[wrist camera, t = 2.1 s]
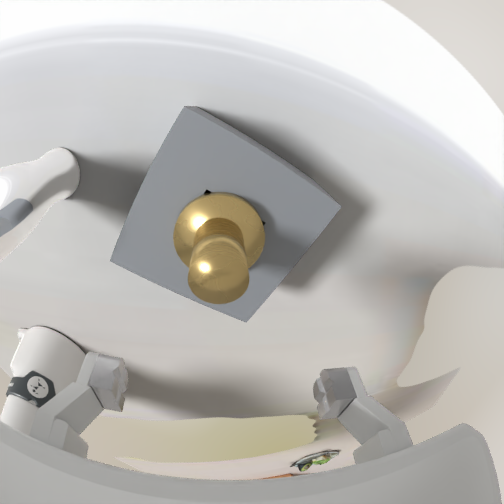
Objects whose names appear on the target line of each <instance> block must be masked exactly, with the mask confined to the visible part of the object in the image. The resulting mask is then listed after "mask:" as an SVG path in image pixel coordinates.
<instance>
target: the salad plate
mask: <svg viewBox="0 0 504 504" xmlns="http://www.w3.org/2000/svg"><path fill="white" fill-rule="evenodd" d="M328 453H331V455H329V456H325V454H328ZM338 454H339V452H338V451H334V450H333V451H325V452H319V453H316V454H312V455H309V456H305V457H303V458H301V459H300V460H298V461H296V462H295V463H294V464H292V465H291V466H290V467H292V466H295V467H298V468H299V470H300V471H305V470H307V469H308V468H309V467H310V466H311V465H317V464H320V465H321V464H324V463H326V462H328V461H329V460H330V459H332V458H333V457H335V456H337V455H338Z"/></svg>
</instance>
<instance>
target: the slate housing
mask: <svg viewBox="0 0 504 504" xmlns="http://www.w3.org/2000/svg"><path fill="white" fill-rule="evenodd" d="M206 189H207V190H209V191H211V192H228V193H232V194H235V195H238V196H240V197H242V198H244V199H245V200H247V201H248V202H249V203H250V204H252V205H253V207H254V208H255V209H256V210H257V212H258V213H259V215H260V218H261V220H262V223H263V227H264V231H265V243H264V248H263V251H262V253H261V255H260V257H259V258H258V260H257V261H256V262H255V263H254V264H253V265H252V266H251V267H250V268H248V271H249V286H248V288H247V290H246V292H245V293H244V294H243V295H242V296H241V297H240V298H238V299H237V300H235V301H233V302H230V303H226V304H212V303H208V302H205V301H203V300H201V299H199V298H198V297H197V296H195V295H194V294H193V292H192V291H191V289H190V287H189V285H188V272H189V268H188V267H187V266H186V265H185V264H184V263H183V262H182V261H181V259H180V258H179V256H178V254H177V252H176V250H175V247H174V241H173V233H174V228H175V224H176V221H177V219H178V216H179V214H180V213H181V211H182V210H183V208H184V207H185V206H186V205H187V204H188V203H189V202H190V201H192V200H193V199H195V198H196V197H198V196H200V195H203V194H204V192H205V191H206ZM341 207H342V206H341V205H340V204H339V203H338V202H336V201H335V200H334V199H333V198H332V197H331V196H330V195H329V194H328V193H327V192H326V191H325V190H324V189H323V188H322V187H321V186H320V185H318V184H317V183H316V182H315V181H314V180H313V179H312V178H310V177H309V176H307V175H306V174H305V173H303V172H302V171H300V170H299V169H297V168H296V167H295V166H293V165H292V164H290V163H289V162H287V161H286V160H284V159H283V158H281V157H280V156H278V155H277V154H275V153H274V152H272V151H271V150H269V149H268V148H266V147H264V146H263V145H261V144H260V143H258V142H256V141H255V140H253V139H252V138H250V137H248V136H247V135H245V134H244V133H242V132H240V131H239V130H237V129H235V128H234V127H232V126H230V125H228V124H227V123H225V122H223V121H222V120H220V119H218V118H216V117H214V116H213V115H211V114H209V113H207V112H205V111H204V110H202V109H200V108H198V107H196V106H184V108H183V109H182V111H181V113H180V114H179V116H178V118H177V119H176V121H175V123H174V124H173V126H172V128H171V129H170V131H169V133H168V135H167V137H166V138H165V140H164V142H163V144H162V146H161V147H160V149H159V151H158V153H157V155H156V157H155V159H154V161H153V163H152V165H151V167H150V168H149V170H148V172H147V175H146V177H145V179H144V181H143V183H142V185H141V187H140V189H139V191H138V193H137V196H136V198H135V200H134V202H133V204H132V207H131V209H130V211H129V214H128V216H127V218H126V221H125V223H124V225H123V228H122V230H121V233H120V235H119V238H118V240H117V243H116V246H115V248H114V251H113V254H112V256H111V259H110V261H111V262H113V263H115V264H117V265H119V266H121V267H123V268H125V269H127V270H129V271H131V272H133V273H135V274H137V275H139V276H141V277H143V278H145V279H147V280H149V281H151V282H154V283H156V284H158V285H160V286H162V287H164V288H166V289H169V290H171V291H173V292H175V293H177V294H180V295H182V296H184V297H186V298H189V299H191V300H193V301H196V302H198V303H200V304H202V305H205V306H207V307H210V308H212V309H214V310H217V311H219V312H222V313H224V314H226V315H229V316H231V317H234V318H236V319H239V320H241V321H244V322H247V321H248V320H249V319H250V318H251V317H252V315H253V314H254V313H255V312H256V311H257V310H258V309H259V307H260V306H261V305H262V304H263V303H264V302H265V300H266V299H267V298H268V297H269V296H270V295H271V293H272V292H273V291H274V290H275V289H276V287H277V286H278V285H279V284H280V283H281V281H282V280H283V279H284V278H285V277H286V275H287V274H288V273H289V272H290V271H291V269H292V268H293V267H294V266H295V265H296V263H297V262H298V261H299V260H300V259H301V257H302V256H303V255H304V254H305V252H306V251H307V250H308V249H309V247H310V246H311V245H312V244H313V242H314V241H315V240H316V239H317V237H318V236H319V235H320V234H321V232H322V231H323V230H324V229H325V227H326V226H327V225H328V224H329V222H330V221H331V220H332V219H333V217H334V216H335V215H336V213H337V212H338V211H339V210H340V208H341Z"/></svg>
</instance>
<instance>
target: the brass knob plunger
mask: <svg viewBox="0 0 504 504" xmlns="http://www.w3.org/2000/svg"><path fill="white" fill-rule="evenodd" d="M173 241H174V247H175V250H176V252H177V254H178V256H179V258H180V259H181V261H182V262H183V263H184V264H185V265H186V266H187V267H188V268H189V272H188V285H189V287H190V289H191V291H192V292H193V294H194V295H195V296H197V297H198V298H199V299H201V300H203V301H205V302H208V303H212V304H226V303H230V302H233V301H235V300H237V299H238V298H240V297H241V296H242V295H243V294H244V293H245V292H246V290H247V288H248V286H249V271H248V268H250V267H251V266H252V265H253V264H254V263H255V262H256V261H257V260H258V258H259V257H260V255H261V253H262V251H263V248H264V243H265V231H264V227H263V223H262V220H261V218H260V215H259V213H258V212H257V210H256V209H255V208H254V207H253V205H252V204H250V203H249V202H248V201H247V200H245V199H244V198H242V197H240V196H238V195H235V194H232V193H228V192H211V191H209V190H207V189H206V191H205V192H204V194H203V195H200V196H198V197H196V198H195V199H193V200H192V201H190V202H189V203H188V204H187V205H186V206H185V207H184V208H183V210H182V211H181V213H180V214H179V216H178V219H177V221H176V224H175V228H174V233H173Z"/></svg>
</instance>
